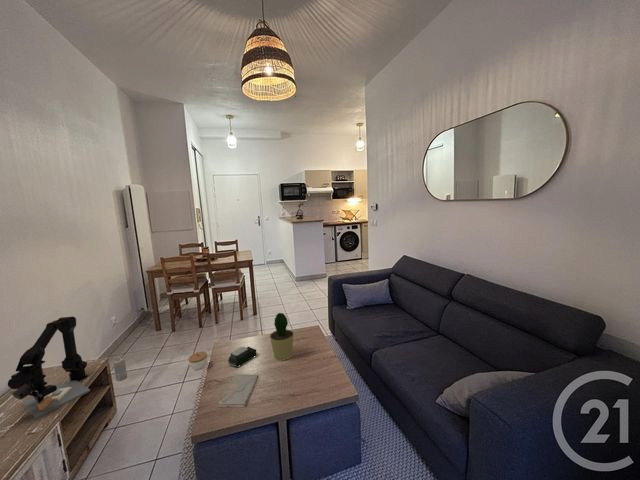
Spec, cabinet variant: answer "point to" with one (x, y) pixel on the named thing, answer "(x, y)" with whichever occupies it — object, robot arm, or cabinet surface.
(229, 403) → the envelope
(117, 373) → the energy drink
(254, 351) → the miniature car
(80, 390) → the slate board
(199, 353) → the lidded jar
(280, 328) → the potted cactus
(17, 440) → the cabinet surface
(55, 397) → the brown white angular piece
